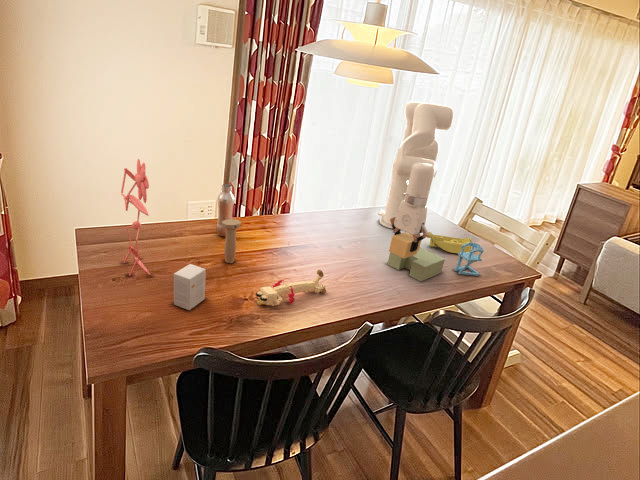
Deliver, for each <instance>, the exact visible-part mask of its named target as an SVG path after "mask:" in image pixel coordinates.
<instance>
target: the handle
mask: <svg viewBox="0 0 640 480" xmlns="http://www.w3.org/2000/svg"><path fill="white" fill-rule="evenodd" d="M222 226H223V227H224V228H226V236H225V239H224V240H225V241H224V250H223V251H224V253H223V254H224V262H225V263H226V264H233V263H234V262H235V258H236V255H237V254H236V253H237V229H239V228H240V227H241V226H242V222H241V220H239V219H236V218H235V219H234V218H232V219H228V220H224V221H222Z"/></svg>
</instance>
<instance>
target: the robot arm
mask: <svg viewBox="0 0 640 480" xmlns="http://www.w3.org/2000/svg"><path fill="white" fill-rule="evenodd" d="M404 117H405V122H406V123H405V124H406V125H405V131H404V133H403V138H402V142H401V144H400V145H399V147H398V150H397V152H396V158H395V160H394V161H393V164H392V173H391V182H390V186H389V192H388V196H387V200H386V206H385V209H384V210H383V209H379V211H378V213H377V215H378V216H380V217H381V218H380V219H379V224H380V225H381V226H383V227H385V228H388V229H392V230H393V236H394V235H397V234H401V233H402V232H401V231H403V232H406V233H408V234H412V235H413V238H414V241H412V245H411V249H410V252H413V251H416V250H417V248H418V244H419V241H421V242H422V241H423V240H425V239H426V238H427V236H429V233H428V232H429V231H428V230H427V227H426V222H427V214H428V206H427V202H428V199H429V195H430V190H431V187H432V184H433V180H434V178H435V177H436V174H437V172H438V165H437V163H436V162H437V159H438V155H439V151H440V142H439V141H438V140H437V139H436V135H437V134H436V133H437V130H440V131H449V130H450V129H451V128H452V126H453V123H454V117H455V114H454V110H453V108H452V107H451V106H449V105H443V104H437V103H431V102H421V101H416V100H415V101H414V100H410V101H408V102H407V103H406V104H405V107H404ZM420 235H422V236H420Z"/></svg>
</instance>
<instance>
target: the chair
mask: <svg viewBox="0 0 640 480" xmlns="http://www.w3.org/2000/svg"><path fill="white" fill-rule="evenodd" d="M468 245H470V246H471V251H470V252H465V253H463V252H464V247H466V246H468ZM475 253H478V255H476V254H475ZM483 253H484V248H483V246H482V245H481V244H479V243H475V242H471V243H466V244H464V245H462V251H461V252H460V253H458V260H457V263H456V266H455V268H454V272H458V273H457V274H458V275H464V276H465V275H466V276H474V277H479V276H480V272H478V271H477V270H475V269H474V268H472V267H471V266H470V265H472V264H475V263H476V262H482V261H483V259H482V258H481V256H482V254H483ZM463 259H464V260H465V261H466V262H467V263H466V264H465V265H462V266H461V263H462V260H463ZM467 269H468V270H469V271H465V270H467Z"/></svg>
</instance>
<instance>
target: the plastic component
mask: <svg viewBox="0 0 640 480" xmlns="http://www.w3.org/2000/svg"><path fill="white" fill-rule="evenodd" d="M428 233H429V236H427V237H426V238H428V239H430V240H429V247H432V248H440V249H441V250H444V252H448V253H450V254H456V255H457V254H458V253H460V252H461V251H462V245H464V244H466V243H472V238H471V237H466V238H465V237H464V238H463V237H461V238H459V237H453V236H445V235H438V234H433V233H432V232H430V231H428ZM471 249H472V246H470V245H468V246H466V247H464V252H463V253H465V252H470V251H471Z"/></svg>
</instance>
